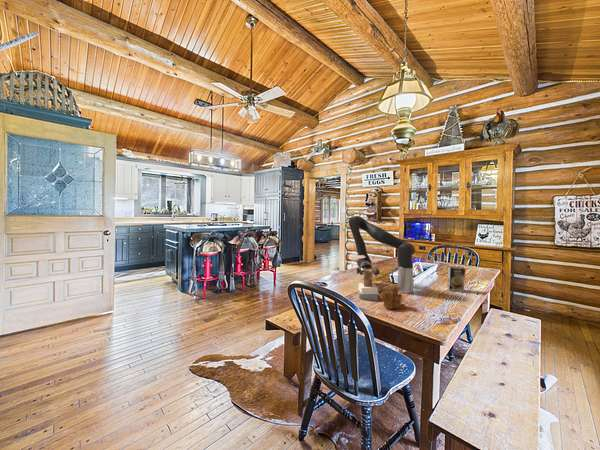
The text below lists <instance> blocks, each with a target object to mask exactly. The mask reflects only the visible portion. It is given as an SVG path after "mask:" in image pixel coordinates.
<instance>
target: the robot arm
mask: <svg viewBox="0 0 600 450" xmlns="http://www.w3.org/2000/svg"><path fill="white" fill-rule="evenodd" d="M347 223H348V226H349V228H350V231H351V234H352V237H353V240H354V244H355V248H356V249H355V250H356V253H357V255H358V256H364V257H362V258H358V259H357V261H356V264H357V268H356V274H359V275H360V276H364V269H372V271H373V276H375V277H377V276H378V275H380V270H379V268H375V269H374V267H373V266H372V259H371V258H370V256H369V254H368V251H367V248H366V247H367V246H366V243H365V240H364V239H363V236H362V235H361V231H360V230H362V231H364V232H366V233H367V234H368V235H369V236H370V238H371V239H374V240H375V241H377V242H378V243H380V244H383V245H385V246H389V247H393V248H395V249H396V250H397V264H398V266H397V268H398V269H397V286H398V287H399V288H400V289H401V290H399V291H398V293H399V294H413V292H414V279H413V270H414V264H413V262H412V260H413V259H412V258H413V256H414V254H415V253H416V248H415V246H414V244H412V243H409V242H408V241H405V240H403V239H401V238H399V237H397V236H396V235H394V234H392V233H390V232H388V231H386V230H385V229H383V228H381V227H379V226H377V225H375V224H373V223H371V222H369V221H367V220H366V219H365V218H363V217H361V216H360V215H353V216H350V217H349V218H348V222H347Z"/></svg>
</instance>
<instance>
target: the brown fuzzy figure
mask: <svg viewBox="0 0 600 450" xmlns="http://www.w3.org/2000/svg"><path fill="white" fill-rule="evenodd" d="M387 288H388V289H389V291H388V290H385V291H382V292H381V293H379V297H380V300H381V301H382V302H383V306H384V307H385V309H388V310H393V309H395V310H396V309H397V310H402V309H405V308H406V304H404V303H402V302H401V298H402V297H403V293H399V292H398V291H399V290H401V289H400V288H399V287H398V284H397V283H396V284H395V283H391V284H389V283H388V284H387Z"/></svg>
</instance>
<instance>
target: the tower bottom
mask: <svg viewBox="0 0 600 450" xmlns="http://www.w3.org/2000/svg"><path fill="white" fill-rule="evenodd" d="M357 291H358V294H359V295H358V299H364V300H363V301H374V300H378V298H379V295H378V294H361V292H360V291H359V287H358V290H357ZM365 299H366V300H365Z"/></svg>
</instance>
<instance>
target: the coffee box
mask: <svg viewBox="0 0 600 450" xmlns="http://www.w3.org/2000/svg"><path fill="white" fill-rule="evenodd" d="M465 278H466V268H464V267H462V266H461V267H459V266H448V269H447V281H446V283H447V284H446V286H447V287H446V289H447V290H448V291H449V292H455V293H457V292H458V293H464V292H465V280H466V279H465Z"/></svg>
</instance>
